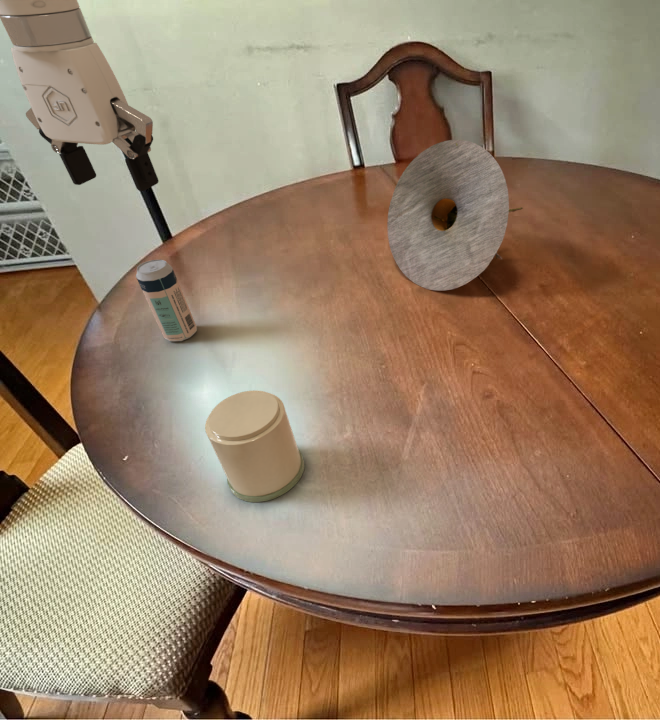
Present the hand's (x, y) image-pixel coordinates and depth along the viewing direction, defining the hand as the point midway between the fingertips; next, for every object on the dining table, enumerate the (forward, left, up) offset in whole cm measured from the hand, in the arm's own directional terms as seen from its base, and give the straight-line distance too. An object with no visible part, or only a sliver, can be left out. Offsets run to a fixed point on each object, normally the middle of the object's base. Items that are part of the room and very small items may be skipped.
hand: (117, 183), depth 71 cm
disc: (+47, +2, -24) cm, 53 cm away
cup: (+9, -34, -24) cm, 43 cm away
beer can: (0, 0, -24) cm, 24 cm away
